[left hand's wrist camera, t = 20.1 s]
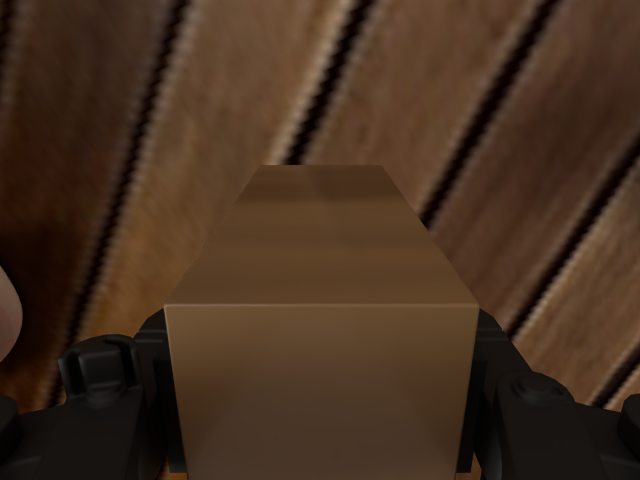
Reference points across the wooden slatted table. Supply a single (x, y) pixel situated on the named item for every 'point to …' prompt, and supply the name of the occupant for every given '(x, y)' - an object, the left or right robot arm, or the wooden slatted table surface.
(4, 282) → the anatomical model
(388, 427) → the brick
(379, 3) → the wooden slatted table surface
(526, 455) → the left robot arm
